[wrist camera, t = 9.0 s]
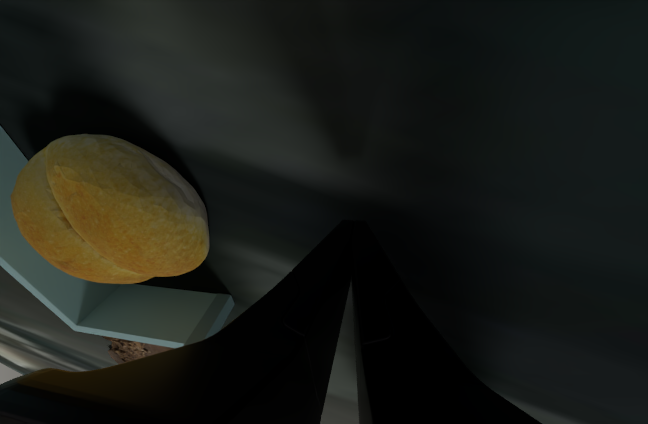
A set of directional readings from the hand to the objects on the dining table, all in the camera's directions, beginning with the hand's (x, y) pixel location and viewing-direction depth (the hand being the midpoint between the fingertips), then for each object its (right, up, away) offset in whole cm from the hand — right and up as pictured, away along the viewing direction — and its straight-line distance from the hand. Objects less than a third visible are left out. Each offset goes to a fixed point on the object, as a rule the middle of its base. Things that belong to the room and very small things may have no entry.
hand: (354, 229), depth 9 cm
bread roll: (-12, +1, +5) cm, 13 cm away
